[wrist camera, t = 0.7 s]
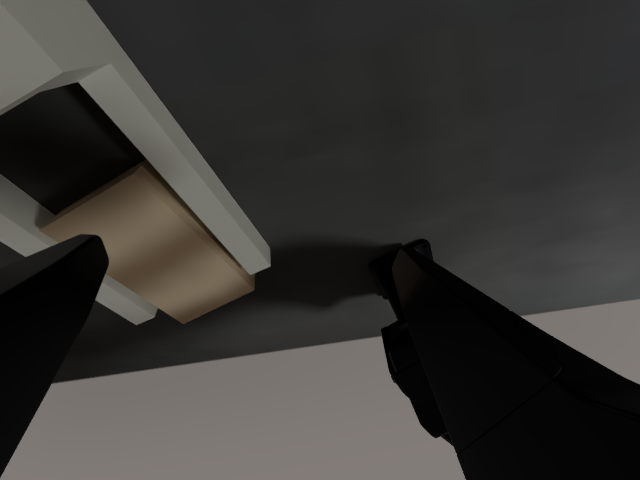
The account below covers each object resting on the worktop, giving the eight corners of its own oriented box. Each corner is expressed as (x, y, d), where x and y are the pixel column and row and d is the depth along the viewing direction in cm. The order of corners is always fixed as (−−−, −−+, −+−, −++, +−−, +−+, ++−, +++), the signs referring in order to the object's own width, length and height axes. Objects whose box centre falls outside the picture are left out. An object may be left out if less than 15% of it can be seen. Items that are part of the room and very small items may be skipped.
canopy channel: (270, 248, 25) (271, 302, 20) (145, 303, 27) (117, 367, 22) (61, -34, 13) (-71, -76, 8) (-144, 102, 15) (-363, 139, 9)
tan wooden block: (255, 267, 27) (254, 290, 25) (189, 299, 28) (183, 324, 26) (149, 156, 19) (133, 173, 17) (64, 207, 20) (39, 230, 18)
